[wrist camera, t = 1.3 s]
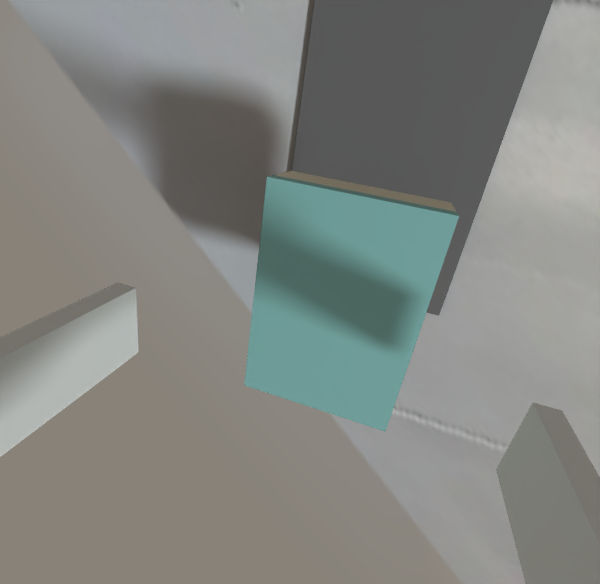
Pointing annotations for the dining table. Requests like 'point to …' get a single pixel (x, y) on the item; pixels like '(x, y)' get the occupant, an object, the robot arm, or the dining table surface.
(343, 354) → the two-tone tile
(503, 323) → the dining table surface
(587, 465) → the robot arm
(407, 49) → the mat
